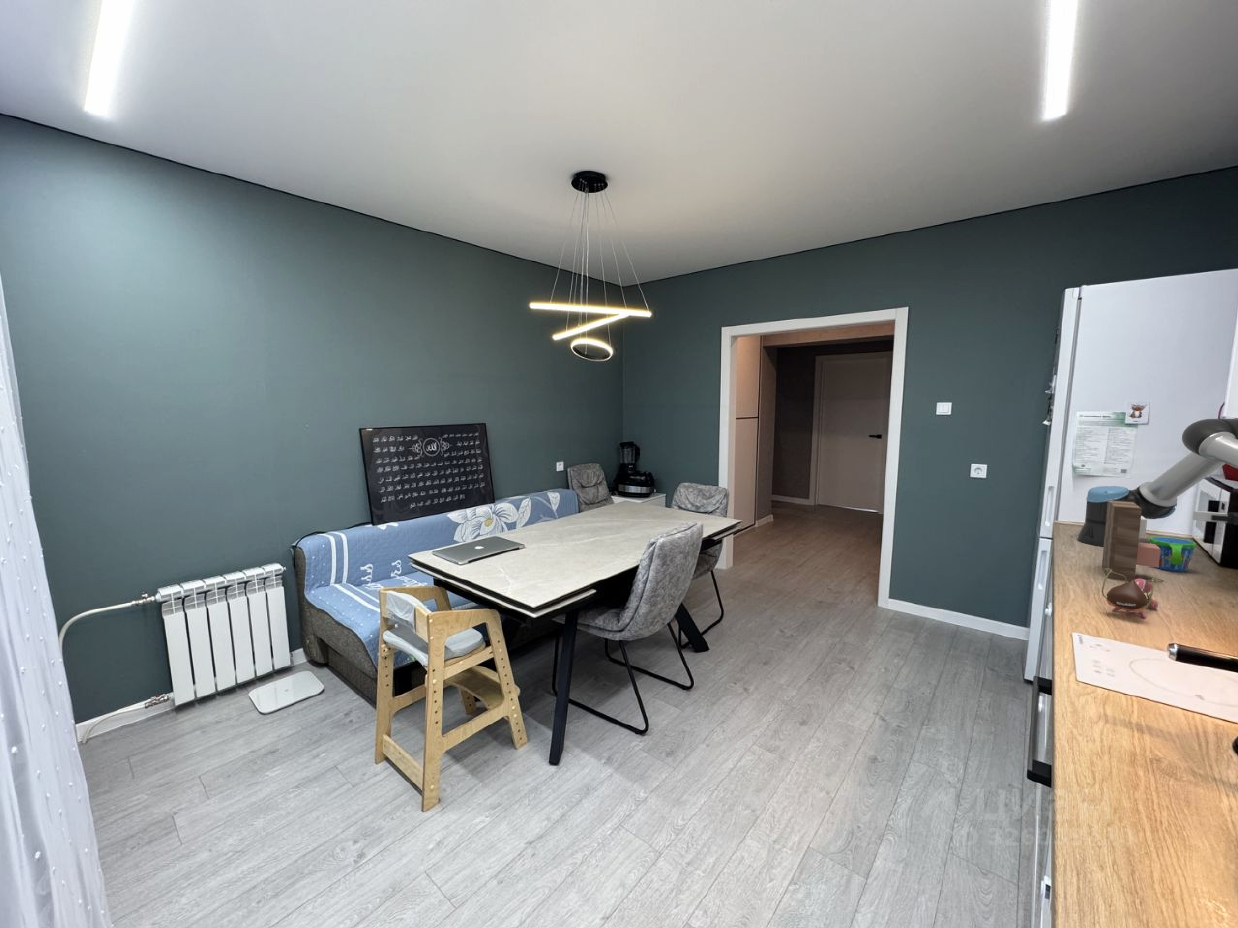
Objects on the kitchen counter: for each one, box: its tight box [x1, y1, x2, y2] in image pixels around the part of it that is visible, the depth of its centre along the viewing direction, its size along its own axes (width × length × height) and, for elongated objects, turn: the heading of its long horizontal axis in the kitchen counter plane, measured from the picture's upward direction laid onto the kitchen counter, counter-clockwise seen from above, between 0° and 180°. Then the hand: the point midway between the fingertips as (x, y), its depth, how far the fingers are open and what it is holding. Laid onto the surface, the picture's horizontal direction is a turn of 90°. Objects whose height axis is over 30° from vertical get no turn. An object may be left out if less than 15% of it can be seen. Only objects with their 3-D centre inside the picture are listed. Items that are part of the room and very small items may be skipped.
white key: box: [1139, 516, 1148, 539], centre depth 160 cm, size 7×5×6 cm
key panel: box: [1101, 500, 1142, 582], centre depth 162 cm, size 14×6×24 cm, turn 142°
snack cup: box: [1149, 536, 1197, 573], centre depth 167 cm, size 16×10×10 cm
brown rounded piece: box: [1101, 568, 1164, 620], centre depth 133 cm, size 11×15×17 cm
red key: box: [1136, 542, 1160, 568], centre depth 159 cm, size 7×5×6 cm
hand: (1194, 515), depth 151 cm, fingers closed
